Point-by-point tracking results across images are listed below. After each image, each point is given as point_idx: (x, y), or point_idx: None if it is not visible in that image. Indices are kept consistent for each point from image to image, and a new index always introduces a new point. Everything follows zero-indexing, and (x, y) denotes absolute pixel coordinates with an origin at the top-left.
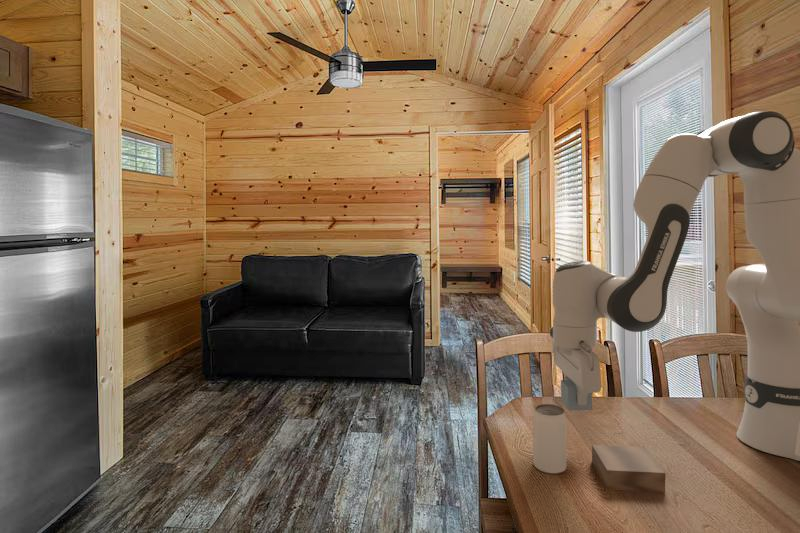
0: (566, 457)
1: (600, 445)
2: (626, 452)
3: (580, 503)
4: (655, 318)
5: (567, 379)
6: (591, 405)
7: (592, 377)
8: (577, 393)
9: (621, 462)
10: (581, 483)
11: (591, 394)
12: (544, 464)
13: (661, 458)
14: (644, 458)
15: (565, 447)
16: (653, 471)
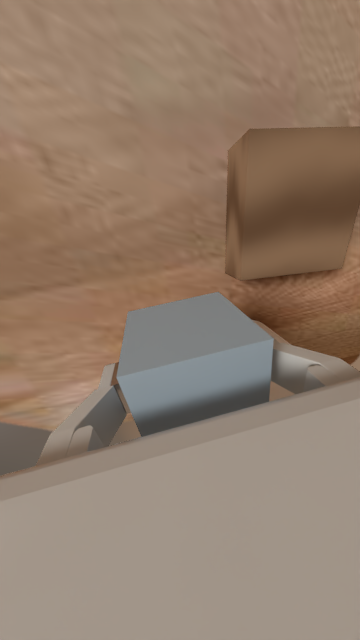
0: (265, 328)
1: (242, 261)
2: (278, 201)
3: (335, 306)
4: None
5: (106, 439)
6: (224, 299)
7: None
8: (284, 387)
9: (321, 229)
10: (291, 300)
11: (247, 319)
12: None
13: (194, 70)
14: (311, 158)
15: (286, 341)
16: None
